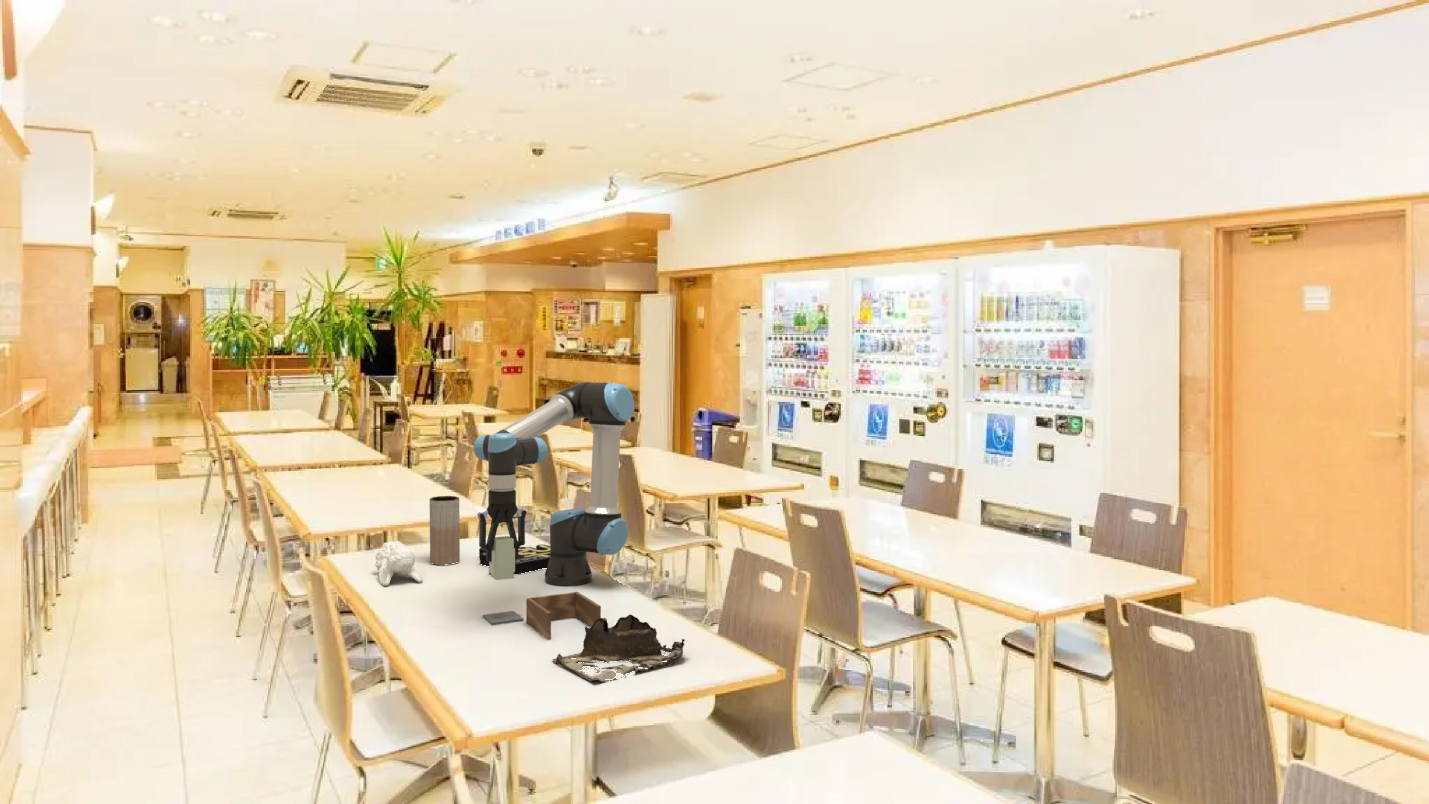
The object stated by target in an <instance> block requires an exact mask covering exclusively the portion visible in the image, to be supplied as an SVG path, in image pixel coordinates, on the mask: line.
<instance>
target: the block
mask: <svg viewBox="0 0 1429 804" xmlns="http://www.w3.org/2000/svg"><path fill="white" fill-rule="evenodd" d="M492 549H493V550H495V574H491V576H490V577H491V578H493V580H495V581H500V580H501V581H502V580H508V579H509V580H510V579H515V577H514V576H515V575H514V539H513V538H511V537H510V535H505V536H504V535H503V536H495V540H494V544H493V548H492Z"/></svg>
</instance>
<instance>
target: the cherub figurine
mask: <svg viewBox="0 0 1429 804" xmlns="http://www.w3.org/2000/svg"><path fill="white" fill-rule="evenodd" d="M415 555H416V554H415V552H414V550H413V549H411V548H409V546H407V545H406V544H404V543H403V542H400V541H399V540H396V541H392V540H391V541H388V542H384V543H383V544H382V546H381V548H378V551H377V552H376V554H375V560H376V561H375V563H374V566H375V568H376V570H377V571H378V572H379V573H378V580H379V583H380V584H381V585H382V586H389V585H390V583H391V579H392V577H393V576H394V574H395V573H396V572H397V573H404V574H405V575H406V576H407V577H410V578H412V580H415V581H416V582H417V583H419V584H420V583H423V581H424V579H423V576H421V575H420V573H419V572H418V570H416V567H415V566H414V565H415V563H416V556H415ZM393 573H394V574H393Z"/></svg>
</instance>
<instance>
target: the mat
mask: <svg viewBox="0 0 1429 804" xmlns="http://www.w3.org/2000/svg"><path fill="white" fill-rule="evenodd" d="M482 618H483V619H484V618H485V619H484V620H485V621H486V622H488V623H489V624H490V625H491V626H495V625H496V624H497V625H503V624H502V623H504V624H510V623H511V624H512V623H516V622H517V623H518V622H523V621H525V620H524V617H522V616H521V615H519V613H517V612H515V611H514V610H509V611H500V612H494V613H487V614H482ZM497 625H496V626H497Z"/></svg>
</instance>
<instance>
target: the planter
mask: <svg viewBox="0 0 1429 804" xmlns="http://www.w3.org/2000/svg"><path fill="white" fill-rule="evenodd" d="M460 528H461V527H460V497H459V496H454V495H441V496H439V495H437V496H432V497H430V498H429V561H430V562H431V563H433V564H438V565H437V566H446V565H445V564H452V563H456V562H458V563H460V562H459V561H461V559H460V557H461V553H460V550H461V549H460V546H461V543H460V541H461V539H460V538H461V537H460V535H461V534H460V530H461V529H460ZM430 562H429V563H430ZM431 563H430V564H431ZM433 564H432V565H433ZM456 564H457V563H456Z"/></svg>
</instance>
